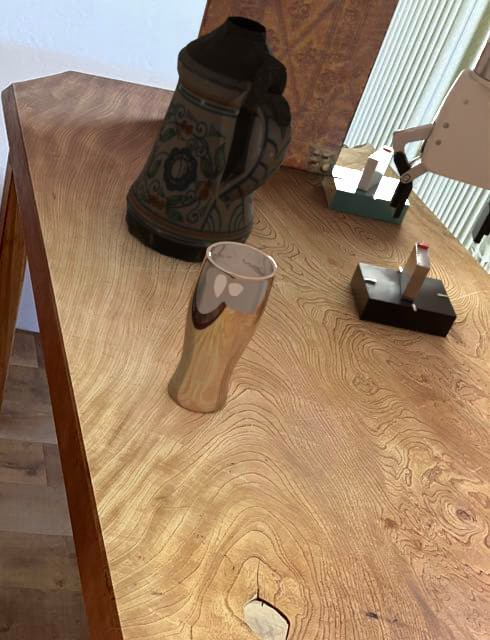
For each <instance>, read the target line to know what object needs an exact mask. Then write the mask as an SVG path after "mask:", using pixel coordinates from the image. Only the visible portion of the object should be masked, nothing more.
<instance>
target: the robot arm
mask: <svg viewBox="0 0 490 640" xmlns="http://www.w3.org/2000/svg"><path fill="white" fill-rule="evenodd" d="M391 137H392V149H393V154H392V159H393V163H394V165H395V169H396V171H397V173H398V175H399V179H398V180H399V182H398V184H397V186H396V188H395V191H394V193H393V195H392V197H391V200H390V203H389V206H391V207H392V218H395V219H397V218H399V217H400V214H401V212H402V210H403V208H404V206H405V204H406V202H407V200H409V198H410V196H411V193H412V191H413V189H414V180H416V179H418V178H420V177H422V176H423V175H425V174H426V173H430V174H433V175H437V176H440V177H443V178H446V179H449V180H453V181H455V182H458V183H459V182H460V183H463V184H466V185H469V186H473V187H476V188H479V189H483V190H487V191H490V31H489V32H488V34H487V36H486V39H485V41H484V43H483V44H482V47H481V50H480V51H479V54H478V55H477V58H476V61H475V63H474V64H473V66H472V68H463V70H462V71H461V72H460V73H459V75H458V77H457V78H456V79H455V80H454V83H453V84H452V86H450V88H449V90H448V92H447V94H446V96H445V97H444V99H443V101H442V102H441V105H440V106H439V108H438V110H437V112H436V114H435V116H434V117H433V120H432V122H431V123H426V124H421V125H416V126H411V127H406V128H401V129H396V130H395V131H393V132H392V134H391ZM419 141H422V142H421V145H420V148H419V154H420V155H418V156H416V157H415V158H413V159H411V160H410V161H409V159H408V157H407V155H406V154H407V153H406V151H405V150H406V149H405V147H406V145H407V144H411V143H414V142H415V143H416V142H419ZM489 235H490V200H489V201H486V204H485V206H484V207H483V209H482V211H481V213H480V215H479V217H478V219H477V221H476V222H475V224H474V226H473V228H472V230H471V236H472V237H471V238H472V241H473V243H474V244H477V245H480V243H481V242H482V240H483V238H484V236H486V237H488V236H489Z"/></svg>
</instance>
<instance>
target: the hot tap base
mask: <svg viewBox="0 0 490 640" xmlns="http://www.w3.org/2000/svg"><path fill="white" fill-rule="evenodd" d="M397 269H398V270H396V269H392V268H388V267H382V266H378V265H373V264H369V263H364V262H358V263H357V265H356V267H355V270H354V272H353V274H352V276H351V278H350V281H349V287H350V291H351V294H352V297H353V302H354V304H355V308H356V313H357V316H358V320H360V321H363V322H367V323H368V322H370V323H374V324H378V325H382V326H388V327H393V328H397V329H401V330H407V331H411V332H417V333H420V334H424V335H425V334H426V335H430V336H434V337H435V336H436V337H439V338H445V339H446V338H447V337H448V335H449V332H450V331H451V330H452V327H453V325H454V324H455V322H456V320H457V318H458V316H457V313H456V311H455V308H454V306H453V303H452V301H451V299H450V296H449V294H448V291H447V290H446V287H445V285H444V283H443V281H442V279H438V278H434V277H428V276H427V277H426V279H425V281H424V283H423V285H422V287H421V289H420V291H419V293H418V295H417V297H416V299H415V301H414V302H411V301H408V300H404V299H401V273H402V271H403V268H402V266H400V265H399V266H397Z"/></svg>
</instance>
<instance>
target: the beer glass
mask: <svg viewBox="0 0 490 640" xmlns="http://www.w3.org/2000/svg"><path fill="white" fill-rule="evenodd" d="M277 271H278V267H277V264H276V262H275V260H274V259H273V258H272V257H271V256H270V255H268V254H267V253H266V252H264V251H263V250H260V249H259V248H256V247H255V246H252V245H249V244H246V243H245V244H243V243H238V242H230V241H223V242H216V243H213V244H211V245H210V246H209V247H208V248H207V250H206V254H205V257H204V259H203V262H202V263H200V267H199V269H198V272H197V275H196V277H195V280H194V283H193V285H192V289H191V294H190V297H189V300H188V305H187V310H186V316H185V326H184V336H183V342H182V343H183V344H182V351H181V355H180V359H179V361H178V364H177V367H176V369H175V370H174V372H173V374H172V375H171V378H170V380H169V381H168V384H167V391H168V395H169V396H170V398H171V399H172V400H173V402H175V403H176V404H178V405H179V406H181V407H183V408H185V409H186V408H187V410H189V411H192V412H196V413H201V414H203V413H204V414H210V413H215V412H219V411H220V410H222V409H223V408H224V407H225V405H226V403H227V399H228V394H229V386H230V381H231V377H232V375H233V372H234V370H235V368H236V366H237V364H238V362H239V361H240V359H241V357H242V356H243V354H244V352H245V351H246V349H247V347H248V346H249V344H250V342H251V340H252V339H253V337H254V335H255V333H256V331H257V329H258V327H259V326H260V323H261V321H262V318H263V316H264V315H265V314H264V313H265V311H266V308H267V304H268V303H269V298H270V295H271V292H272V288H273V284H274V280H275V277H276V273H277Z"/></svg>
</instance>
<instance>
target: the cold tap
mask: <svg viewBox="0 0 490 640" xmlns="http://www.w3.org/2000/svg"><path fill="white" fill-rule="evenodd" d="M392 158H393V147H390V146H387V145H384V146H383V147H381V148H379V150H377V151H375V152H374V153H373V154H370V156H368V158H367V160H366V163H365V165H364V168H363V169H364V170H363V169H362V171H361V172H362V175H361V177H360V180H359V182H358V185H357V188H359V189H361V190H364V191H368V190H369V189H370V188H372V187H373V186H375V185H376V184H377V183H379V182H380V181H381V180H382V178H383V177H385V176H384V175H385V173H386V171H387V169H388V166H389V164H390V162H391V159H392Z"/></svg>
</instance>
